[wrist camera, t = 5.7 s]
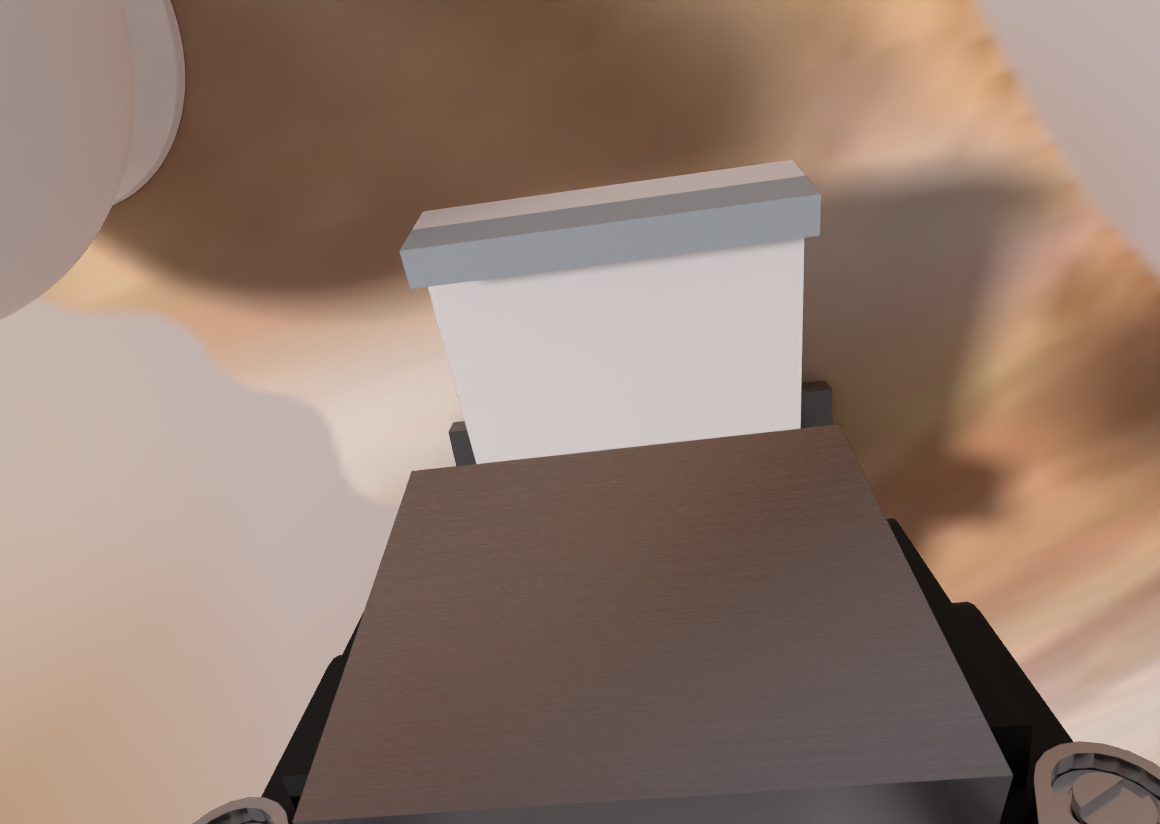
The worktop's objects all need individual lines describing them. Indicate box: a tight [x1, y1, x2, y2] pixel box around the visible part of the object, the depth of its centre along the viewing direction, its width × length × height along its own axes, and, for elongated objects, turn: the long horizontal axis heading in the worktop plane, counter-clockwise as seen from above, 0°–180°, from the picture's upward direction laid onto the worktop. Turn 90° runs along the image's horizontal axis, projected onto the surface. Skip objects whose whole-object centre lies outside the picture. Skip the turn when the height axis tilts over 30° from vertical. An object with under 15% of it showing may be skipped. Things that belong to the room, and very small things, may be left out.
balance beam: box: [399, 160, 821, 464], centre depth 26 cm, size 11×28×3 cm, turn 8°
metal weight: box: [293, 424, 1013, 824], centre depth 10 cm, size 6×6×5 cm
